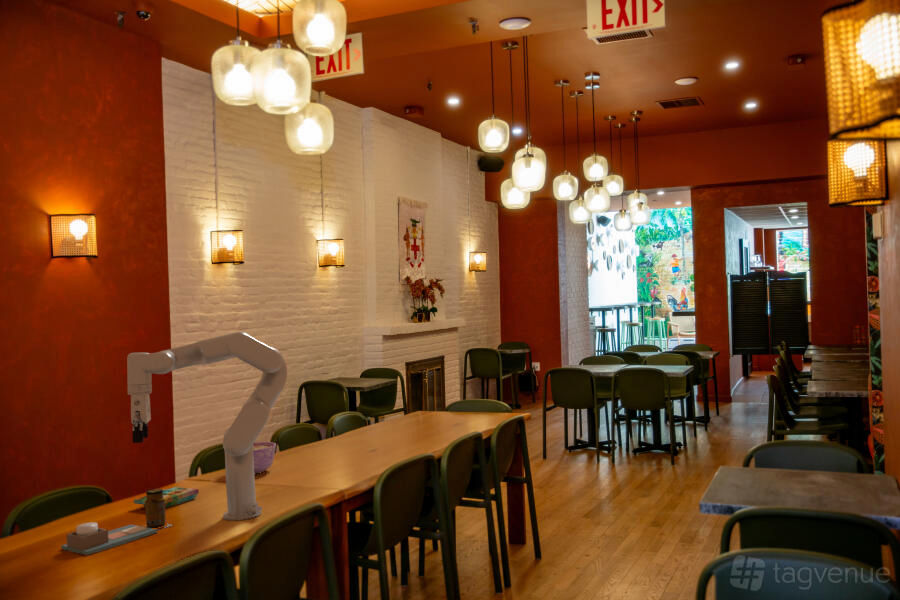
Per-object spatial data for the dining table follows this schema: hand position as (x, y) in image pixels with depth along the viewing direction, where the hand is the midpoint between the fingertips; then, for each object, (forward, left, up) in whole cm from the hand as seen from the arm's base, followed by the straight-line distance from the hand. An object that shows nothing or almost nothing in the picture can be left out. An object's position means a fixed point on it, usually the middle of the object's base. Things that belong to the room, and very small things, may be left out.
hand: (140, 440), depth 256 cm
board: (-4, +15, -29) cm, 33 cm away
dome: (-4, +22, -25) cm, 34 cm away
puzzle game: (+19, -23, -30) cm, 42 cm away
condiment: (-4, -2, -29) cm, 30 cm away
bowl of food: (+28, -74, -29) cm, 85 cm away
